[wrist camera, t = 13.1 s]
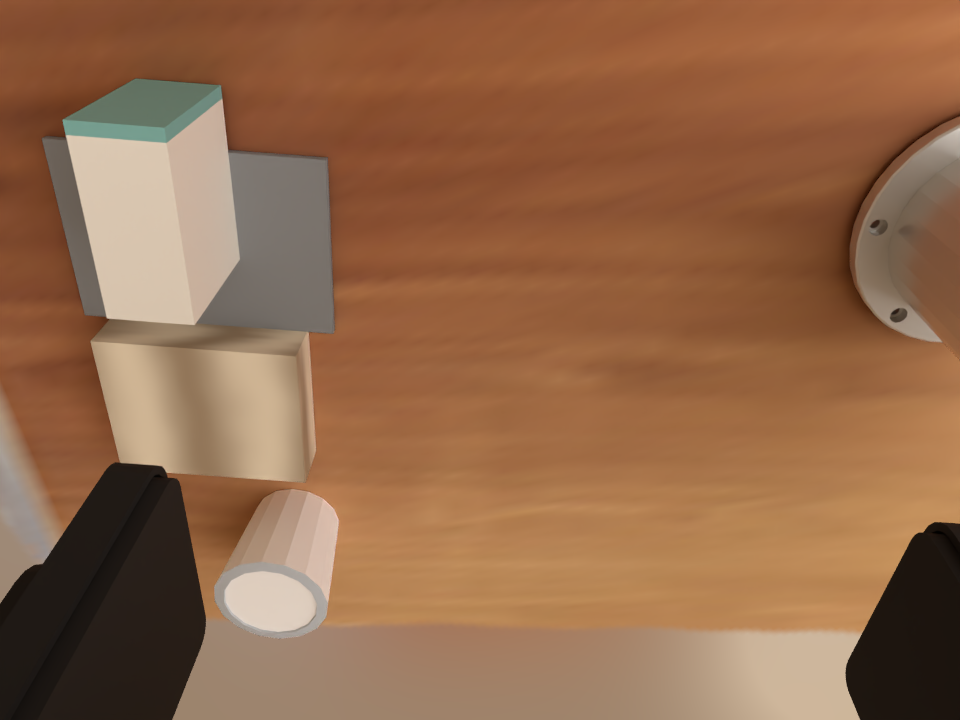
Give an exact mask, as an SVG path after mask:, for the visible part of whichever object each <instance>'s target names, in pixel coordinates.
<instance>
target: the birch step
mask: <svg viewBox="0 0 960 720" xmlns="http://www.w3.org/2000/svg"><path fill="white" fill-rule="evenodd" d="M90 342H91V346H92V350H93V354H94V358H95V362H96V366H97V370H98V374H99V379H100V383H101V387H102V391H103V395H104V399H105V403H106V407H107V411H108V415H109V419H110V423H111V427H112V432H113V436H114V440H115V444H116V448H117V452H118V456H119V460H120V463H130V464H144V465H157V466H162V467H163V468H164V469H165V471H166V473H179V474H193V475H206V476H220V477H234V478H248V479H262V480H275V481H289V482H303V483H306V480H307V477H308V474H309V471H310V468H311V465H312V462H313V459H314V456H315V453H316V439H315V423H314V407H313V391H312V376H311V360H310V344H309V332H304V331H290V330H277V329H264V328H250V327H237V326H223V325H210V324H195V325H185V324H172V323H159V322H146V321H133V320H120V319H110V320H109V321H108V322H107V323H106V324H105V325H104V326H103V328H102V329H101V330H100V331H99V332H98V333H97V334H96V335H95V337H94V338H93V339H92V340H91V341H90Z"/></svg>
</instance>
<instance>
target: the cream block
mask: <svg viewBox="0 0 960 720" xmlns="http://www.w3.org/2000/svg"><path fill="white" fill-rule="evenodd" d="M63 125H64V129H65V134H66V138H67V143H68V147H69V152H70V156H71V160H72V165H73V169H74V174H75V178H76V183H77V187H78V192H79V196H80V201H81V205H82V210H83V214H84V218H85V223H86V227H87V232H88V236H89V241H90V245H91V250H92V254H93V259H94V263H95V268H96V272H97V277H98V281H99V285H100V290H101V294H102V299H103V303H104V308H105V312H106V317H107V319H120V320H133V321H146V322H159V323H172V324H185V325H195V324H196V322H197V321H198V320H199V318H200V317H201V315H202V314H203V312H204V311H205V309H206V308H207V307H208V305H209V304H210V302H211V301H212V299H213V298H214V296H215V295H216V293H217V292H218V291H219V289H220V288H221V286H222V285H223V283H224V282H225V280H226V279H227V277H228V276H229V275H230V273H231V272H232V270H233V269H234V267H235V266H236V264H237V263H238V261H239V260H240V255H239V246H238V237H237V228H236V219H235V210H234V200H233V191H232V182H231V173H230V164H229V155H228V146H227V137H226V128H225V119H224V110H223V101H222V91H221V85H210V84H198V83H185V82H173V81H160V80H148V79H134V80H132V81H130V82H129V83H127V84H125V85H123V86H121V87H120V88H118V89H116V90H114V91H113V92H111V93H109V94H107V95H105V96H104V97H102V98H100V99H98V100H97V101H95V102H93V103H91V104H89V105H88V106H86V107H84V108H82V109H81V110H79V111H77V112H75V113H74V114H72V115H70V116H68V117H66V118H65V119H63Z"/></svg>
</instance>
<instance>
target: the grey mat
mask: <svg viewBox="0 0 960 720" xmlns="http://www.w3.org/2000/svg"><path fill="white" fill-rule="evenodd" d="M42 142H43V146H44V150H45V154H46V158H47V162H48V166H49V170H50V174H51V178H52V183H53V187H54V191H55V195H56V199H57V203H58V207H59V211H60V215H61V219H62V223H63V228H64V232H65V236H66V240H67V244H68V248H69V252H70V256H71V260H72V264H73V268H74V273H75V277H76V281H77V285H78V289H79V293H80V297H81V301H82V305H83V309H84V313H85V315H89V316H102V317H106V312H105V308H104V303H103V299H102V294H101V290H100V285H99V281H98V277H97V272H96V268H95V263H94V259H93V254H92V250H91V245H90V241H89V236H88V232H87V227H86V223H85V218H84V214H83V210H82V205H81V201H80V196H79V192H78V187H77V183H76V178H75V174H74V169H73V165H72V160H71V156H70V152H69V147H68V143H67V138H65V137H52V136H45V137H43V138H42ZM228 155H229V164H230V173H231V182H232V191H233V200H234V210H235V219H236V228H237V237H238V246H239V255H240V260H239V261H238V263H237V264H236V266H235V267H234V269H233V270H232V272H231V273H230V275H229V276H228V277H227V279H226V280H225V282H224V283H223V285H222V286H221V288H220V289H219V291H218V292H217V293H216V295H215V296H214V298H213V299H212V301H211V302H210V304H209V305H208V307H207V308H206V309H205V311H204V312H203V314H202V315H201V317H200V318H199V320H198V321H197V322H196V324H210V325H223V326H237V327H250V328H264V329H277V330H290V331H304V332H317V333H331V334H334V331H335V321H334V297H333V273H332V249H331V225H330V201H329V177H328V158H327V157H314V156H301V155H288V154H275V153H261V152H248V151H235V150H228Z"/></svg>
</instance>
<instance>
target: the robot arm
mask: <svg viewBox="0 0 960 720" xmlns="http://www.w3.org/2000/svg"><path fill="white" fill-rule="evenodd" d="M874 221H875V222H874ZM873 222H874V223H873ZM872 223H873V224H872ZM849 248H850V270H851V274H852V277H853V281H854V285H855V287H856V289H857V291H858V293H859V294H860V296H861V298H862V300H863V302H864V303H865V304H866V305H867V306H868V307H869V309H870V310H871V311H872V312H873V314H874V315H875V316H876V317H877V318H878V319H879V320H881V321H882V322H883V323H884V324H885V325H886V326H888V327H889V328H891V329H893V330H895V331H897V332H899V333H901V334H903V335H905V336H908V337H911V338H915V339H919V340H923V341H927V342H939V343H944V344H945V345H946V346H947V347H948V348H949V349H950V351H951V352H952V353H953V354H954V355H955V356H956V357H957V358H958V359H959V360H960V116H959V117H957V118H954V119H952V120H950V121H948V122H946V123H943V124H941V125H940V126H938V127H937V128H935V129H934V130H932V131H931V132H929V133H927V134H926V135H924V136H923V137H921V138H920V139H918V140H917V141H915V142H914V143H913V144H912V145H911V146H910V147H908V148H907V149H906V150H905V151H904V152H903V153H902V154H900V155H899V156H898V157H897V158H896V159H895V160H894V161H893V162H892V163H891V164H890V166H889V167H888V168H887V169H886V170H885V171H884V172H883V174H882V175H881V176H880V177H879V178H878V179H877V181H876V182H875V184H874V186H873V187H872V189H871V190H870V192H869V194H868V195H867V197H866V198H865V200H864V202H863V204H862V206H861V208H860V211H859V213H858V216H857V218H856V221H855V223H854V226H853V231H852V236H851V241H850V246H849ZM205 627H206V616H205V610H204V605H203V600H202V595H201V590H200V584H199V579H198V574H197V569H196V564H195V559H194V553H193V548H192V543H191V538H190V533H189V528H188V522H187V517H186V512H185V507H184V502H183V497H182V491H181V486H180V483H179V481H178V480H177V479H175V478H168V477H167V474H166V471H165V469H164V468H163V467H162V466H157V465H144V464H130V463H116V462H115V463H113V464H111V465H110V466H109V467H108V468H107V469H106V471H105V472H104V474H103V475H102V477H101V478H100V480H99V481H98V483H97V484H96V486H95V487H94V488H93V490H92V491H91V493H90V494H89V496H88V497H87V499H86V500H85V502H84V503H83V505H82V506H81V508H80V509H79V511H78V512H77V514H76V515H75V517H74V518H73V520H72V521H71V523H70V524H69V526H68V527H67V529H66V530H65V532H64V533H63V535H62V536H61V538H60V539H59V541H58V542H57V544H56V545H55V547H54V548H53V550H52V551H51V553H50V554H49V556H48V557H47V559H46V560H45V562H44V563H43V564H39V565H34V566H32V567H30V568H29V569H27V570H26V571H25V572H24V573H23V574H22V575H21V576H20V577H19V579H18V580H17V581H16V582H15V583H14V585H13V586H12V588H11V589H10V590H9V592H8V593H7V595H6V596H5V598H4V599H3V601H2V602H1V603H0V720H172V718H173V716H174V714H175V711H176V709H177V706H178V703H179V701H180V698H181V696H182V693H183V691H184V688H185V686H186V683H187V681H188V678H189V676H190V673H191V671H192V668H193V666H194V663H195V661H196V658H197V656H198V653H199V651H200V648H201V645H202V642H203V638H204V634H205ZM846 683H847V687H848V691H849V694H850V696H851V698H852V701H853V703H854V705H855V708H856V711H857V713H858V715H859V718H860V720H960V524H956V523H942V522H934V523H932V524H931V525H929V526H928V527H927V528H926V530H925V531H924V533H918V534H916V535H915V536H914V537H913V538H912V540H911V542H910V543H909V545H908V547H907V549H906V551H905V553H904V555H903V557H902V559H901V561H900V563H899V564H898V566H897V568H896V570H895V572H894V574H893V576H892V578H891V580H890V582H889V583H888V585H887V587H886V589H885V591H884V593H883V595H882V597H881V599H880V601H879V603H878V604H877V606H876V608H875V610H874V612H873V614H872V616H871V618H870V620H869V622H868V624H867V625H866V627H865V629H864V631H863V633H862V635H861V637H860V639H859V641H858V643H857V645H856V646H855V648H854V651H853V652H852V654H851V656H850V658H849V660H848V663H847V666H846Z"/></svg>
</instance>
